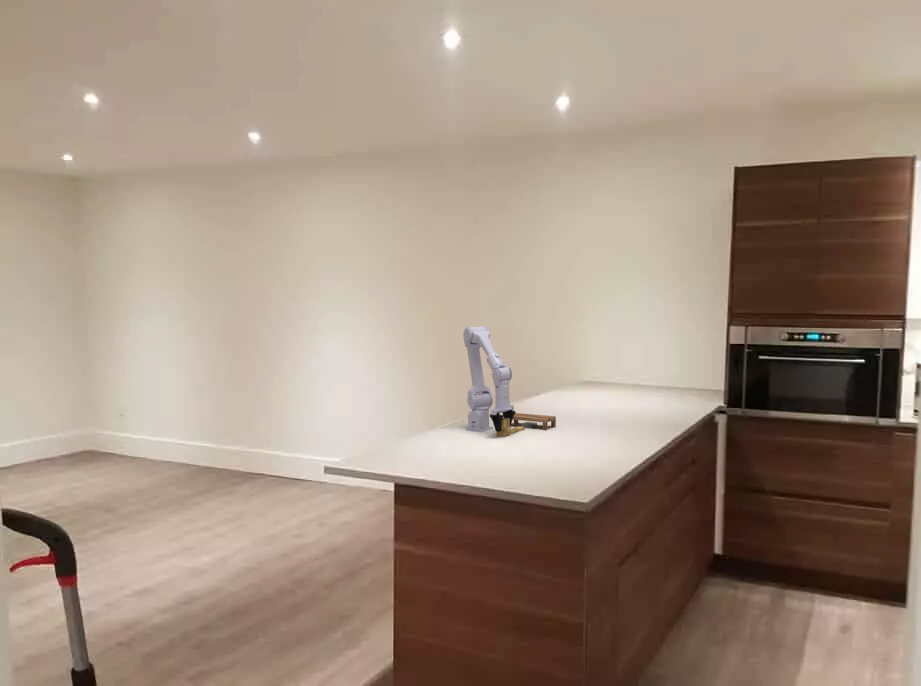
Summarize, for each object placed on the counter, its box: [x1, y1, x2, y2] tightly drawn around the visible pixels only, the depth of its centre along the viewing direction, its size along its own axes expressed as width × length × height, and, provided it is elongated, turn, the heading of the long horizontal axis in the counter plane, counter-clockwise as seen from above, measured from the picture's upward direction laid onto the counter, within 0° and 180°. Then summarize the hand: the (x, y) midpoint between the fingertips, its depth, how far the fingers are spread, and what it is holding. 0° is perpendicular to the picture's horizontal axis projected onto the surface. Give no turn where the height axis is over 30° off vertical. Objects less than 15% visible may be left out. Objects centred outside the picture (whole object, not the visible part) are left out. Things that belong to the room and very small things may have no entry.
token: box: [520, 421, 538, 429], centre depth 322 cm, size 5×5×2 cm
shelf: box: [512, 412, 557, 431], centre depth 323 cm, size 9×20×4 cm, turn 55°
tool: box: [495, 417, 526, 438], centre depth 310 cm, size 17×4×7 cm, turn 145°
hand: (503, 429), depth 304 cm, fingers open, 7 cm apart
